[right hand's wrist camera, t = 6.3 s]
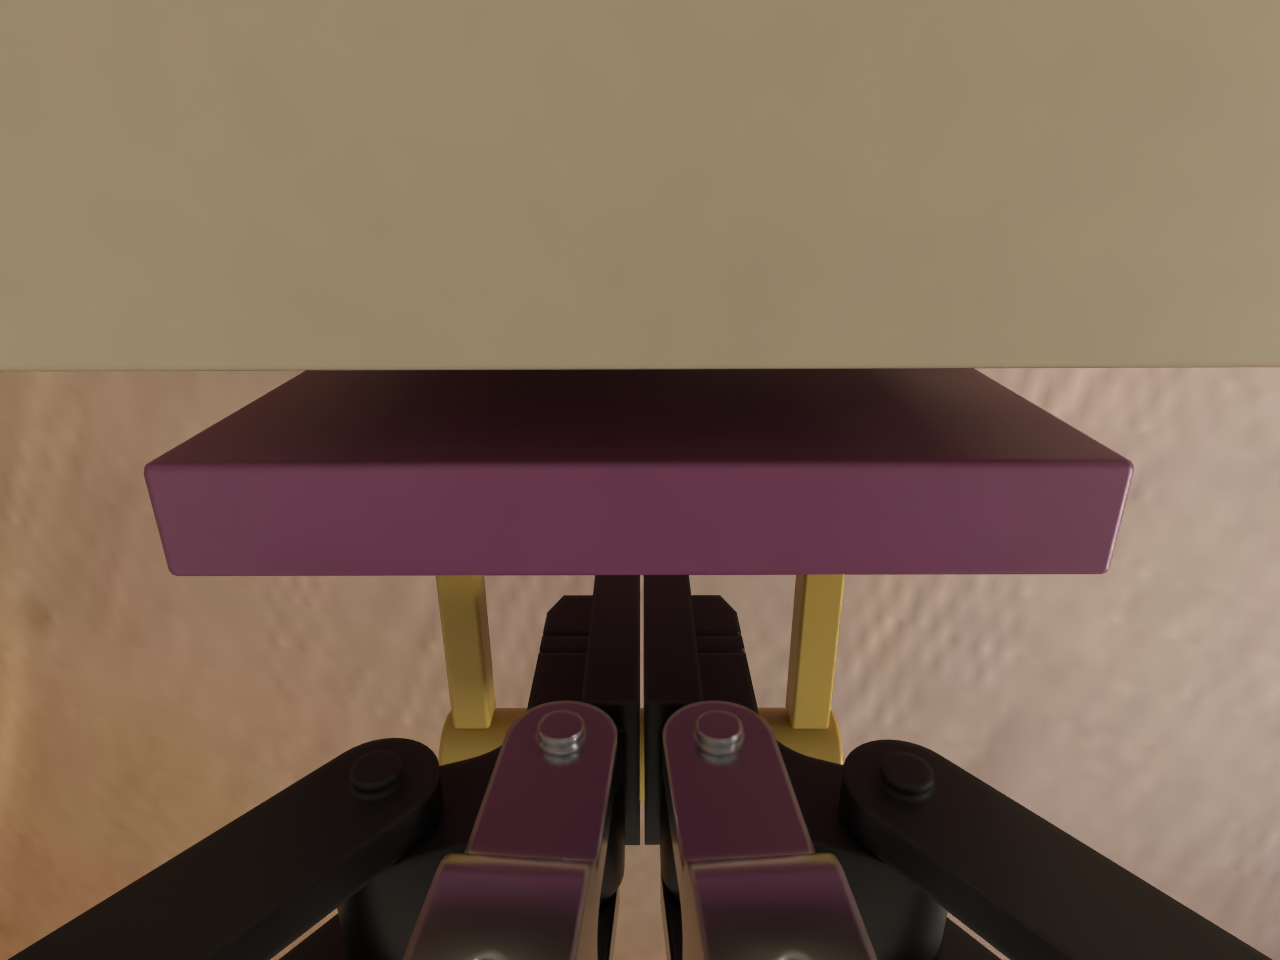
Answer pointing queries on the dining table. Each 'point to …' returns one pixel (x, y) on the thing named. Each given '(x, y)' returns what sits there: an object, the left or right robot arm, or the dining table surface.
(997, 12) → the cabinet
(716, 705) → the right robot arm
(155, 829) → the dining table surface
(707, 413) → the drawer
